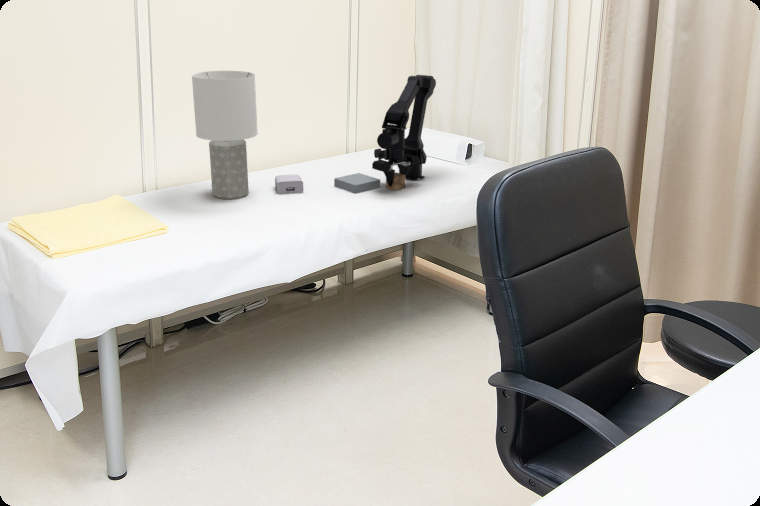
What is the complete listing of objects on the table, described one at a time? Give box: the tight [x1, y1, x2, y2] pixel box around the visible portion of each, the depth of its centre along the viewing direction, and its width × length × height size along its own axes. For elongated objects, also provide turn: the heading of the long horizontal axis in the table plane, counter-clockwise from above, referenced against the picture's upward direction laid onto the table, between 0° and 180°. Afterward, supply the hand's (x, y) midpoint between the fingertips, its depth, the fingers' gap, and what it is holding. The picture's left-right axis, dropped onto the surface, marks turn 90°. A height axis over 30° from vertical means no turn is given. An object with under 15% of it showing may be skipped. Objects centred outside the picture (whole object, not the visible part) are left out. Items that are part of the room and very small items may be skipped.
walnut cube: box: [385, 171, 406, 191], centre depth 272 cm, size 5×5×5 cm
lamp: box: [191, 70, 258, 200], centre depth 255 cm, size 21×21×42 cm
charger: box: [274, 174, 304, 195], centre depth 270 cm, size 5×9×15 cm
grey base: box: [333, 172, 381, 194], centre depth 273 cm, size 12×12×3 cm
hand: (395, 185), depth 273 cm, fingers closed on walnut cube, 5 cm apart
